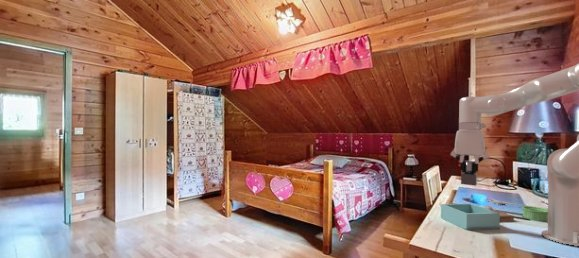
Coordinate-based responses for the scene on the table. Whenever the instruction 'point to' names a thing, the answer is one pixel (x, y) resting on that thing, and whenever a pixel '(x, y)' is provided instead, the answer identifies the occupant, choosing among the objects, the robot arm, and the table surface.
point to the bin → (470, 216)
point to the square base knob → (469, 174)
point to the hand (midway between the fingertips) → (469, 172)
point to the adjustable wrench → (504, 202)
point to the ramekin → (535, 213)
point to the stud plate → (502, 215)
